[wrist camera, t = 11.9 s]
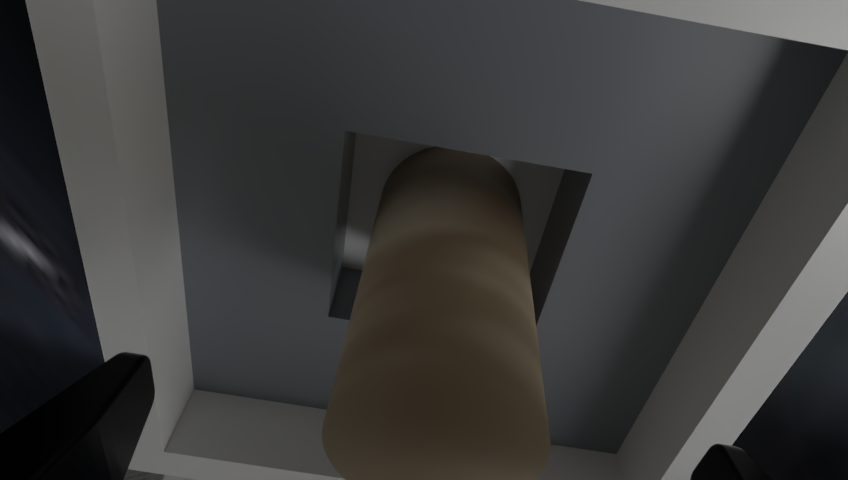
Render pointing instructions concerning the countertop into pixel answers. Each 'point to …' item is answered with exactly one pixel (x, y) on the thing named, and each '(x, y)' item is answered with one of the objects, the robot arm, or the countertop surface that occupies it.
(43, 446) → the robot arm
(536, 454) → the wooden peg
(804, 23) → the grey box
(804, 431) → the countertop surface
